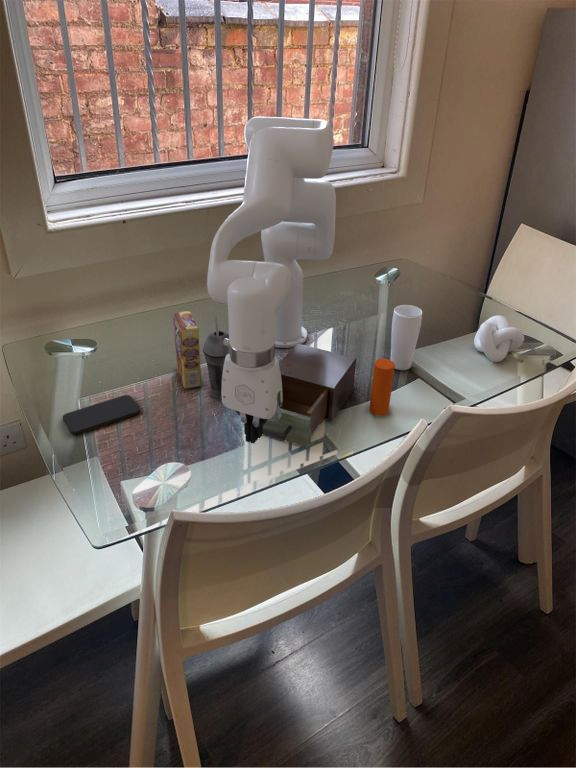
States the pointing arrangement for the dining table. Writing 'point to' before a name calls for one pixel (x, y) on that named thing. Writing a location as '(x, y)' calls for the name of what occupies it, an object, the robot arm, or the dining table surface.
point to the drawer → (298, 413)
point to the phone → (100, 414)
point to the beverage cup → (215, 359)
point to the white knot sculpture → (498, 338)
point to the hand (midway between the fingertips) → (253, 438)
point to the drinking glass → (405, 335)
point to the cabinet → (321, 373)
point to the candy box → (187, 349)
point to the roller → (381, 386)
